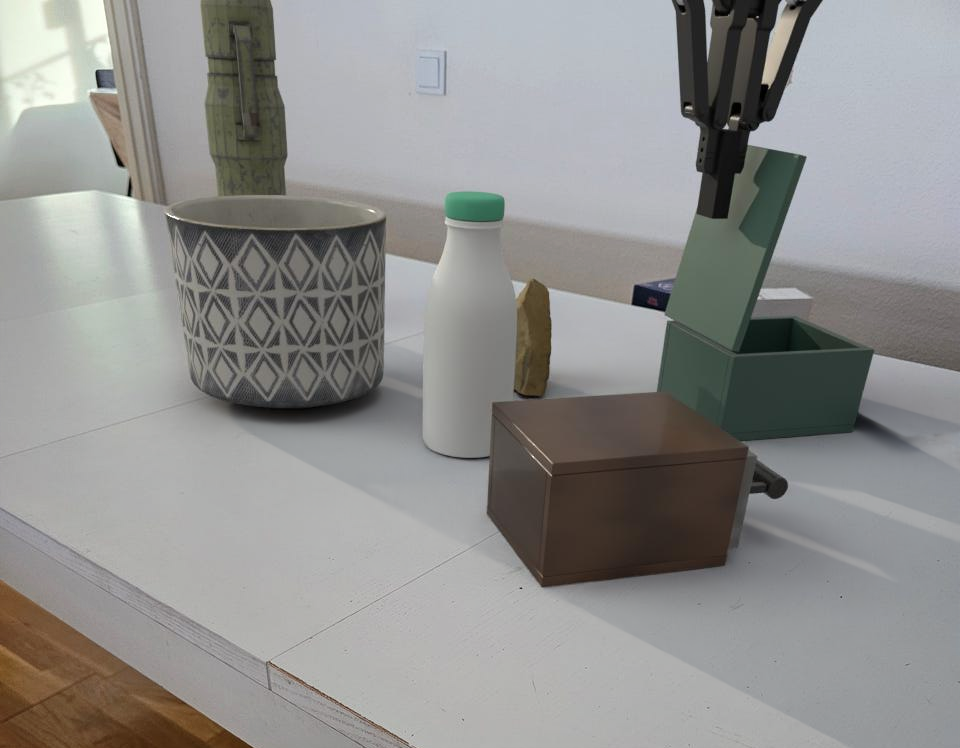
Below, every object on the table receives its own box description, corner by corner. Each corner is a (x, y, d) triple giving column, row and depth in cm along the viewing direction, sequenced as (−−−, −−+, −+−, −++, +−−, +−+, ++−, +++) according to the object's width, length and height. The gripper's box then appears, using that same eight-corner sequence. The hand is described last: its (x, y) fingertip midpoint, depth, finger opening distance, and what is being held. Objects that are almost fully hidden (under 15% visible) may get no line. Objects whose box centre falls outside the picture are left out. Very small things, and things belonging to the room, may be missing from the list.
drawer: (716, 484, 74) (732, 401, 70) (791, 542, 66) (813, 450, 62) (518, 503, 69) (524, 415, 66) (572, 567, 61) (582, 470, 57)
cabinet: (649, 498, 74) (665, 390, 69) (725, 565, 64) (749, 447, 60) (486, 514, 70) (491, 401, 65) (541, 588, 61) (552, 463, 56)
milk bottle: (521, 457, 80) (539, 201, 69) (434, 463, 78) (438, 201, 67) (495, 426, 86) (507, 187, 75) (413, 431, 84) (414, 186, 73)
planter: (269, 353, 102) (257, 188, 94) (422, 383, 96) (424, 209, 87) (144, 400, 88) (115, 210, 79) (315, 440, 81) (304, 237, 72)
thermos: (285, 300, 124) (264, -23, 105) (307, 322, 114) (288, -27, 96) (218, 303, 120) (182, -29, 102) (234, 326, 111) (199, -34, 92)
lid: (724, 141, 83) (717, 139, 83) (807, 156, 73) (799, 154, 73) (671, 316, 90) (663, 315, 90) (739, 352, 80) (731, 351, 80)
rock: (573, 381, 91) (583, 341, 98) (524, 307, 87) (538, 271, 95) (485, 432, 96) (501, 391, 104) (435, 365, 92) (455, 327, 100)
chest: (778, 391, 99) (795, 315, 95) (852, 432, 89) (874, 349, 85) (655, 399, 95) (666, 320, 91) (718, 443, 85) (734, 356, 81)
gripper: (813, -124, 72) (753, 209, 85) (663, -141, 68) (623, 210, 81) (876, -138, 66) (802, 222, 79) (715, -158, 62) (664, 224, 75)
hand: (711, 216), depth 80 cm, fingers closed
